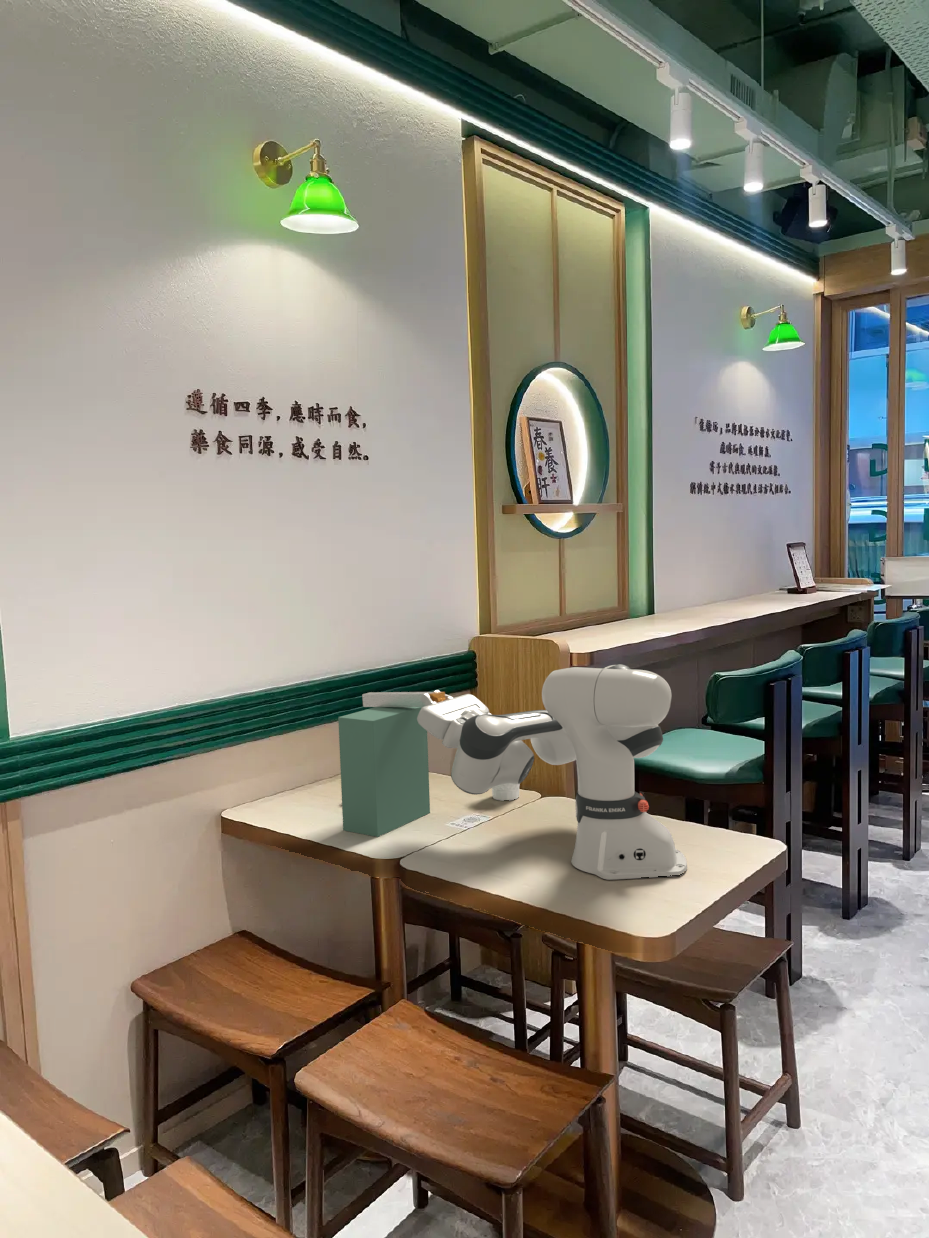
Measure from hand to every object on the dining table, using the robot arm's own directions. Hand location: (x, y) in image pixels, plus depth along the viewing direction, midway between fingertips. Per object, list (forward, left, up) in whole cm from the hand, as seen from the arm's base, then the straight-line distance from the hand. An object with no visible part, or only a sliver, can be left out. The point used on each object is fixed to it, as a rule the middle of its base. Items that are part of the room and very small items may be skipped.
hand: (428, 694), depth 213 cm
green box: (+10, +1, -30) cm, 32 cm away
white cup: (-15, -20, -30) cm, 39 cm away
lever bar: (+6, -3, -3) cm, 8 cm away
